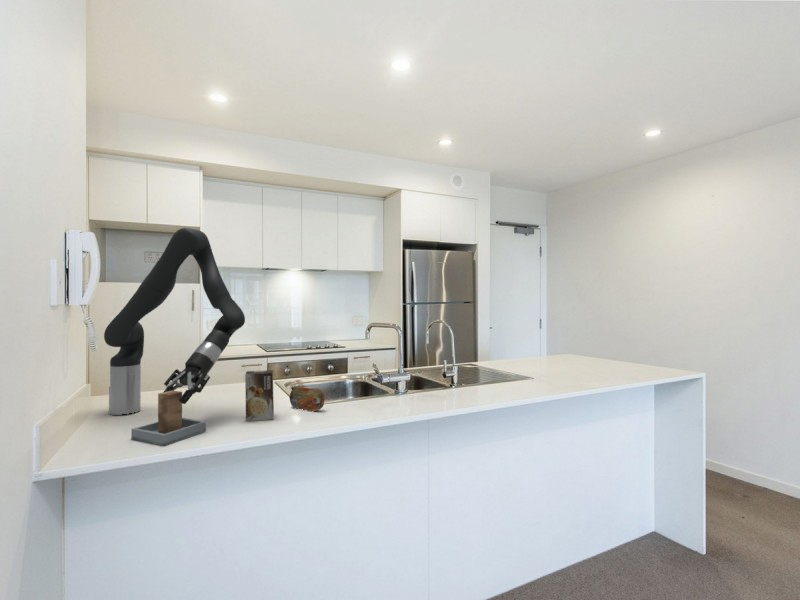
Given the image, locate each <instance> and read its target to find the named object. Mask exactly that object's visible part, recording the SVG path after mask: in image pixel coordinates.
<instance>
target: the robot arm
mask: <svg viewBox="0 0 800 600" xmlns="http://www.w3.org/2000/svg"><path fill="white" fill-rule="evenodd" d="M189 256H192V257H193V258H194V260H195V261H196V263H197V264H198V267H199V269H200V274H201V280H202V286H203V290H204V292H205V295H206V297H207V299H208V301H209V303H210V305H211V306H212V307H213V309H215V310H219V312H220V313H221V314H222V316H220V318H219V319H218V320H217V322H216V323H215V324H214V326H213V328H212V329H211V331H210V332H209V333H208V334H207V336H206V337H205V338H204V340H203V341H202V342H201V343H200V344H199V345H198V346H197V347H196V349H195V350H194V351H193V352H192V354H191V355H190V356H189V357H188V359H187V360H186V361H185V363H184V365H185V366H184V367H185V368H184V369H183V370H179V369H178V368H177V369H175V370H174V371H172V373H171V375H170V376H168V378H167V379H166V381H165V382H164V383H163V385H164V386H165V387H166V388H165V390H164V391H163V392H168V391H176V390H177V389H178V388H182V387H184V386H185V387H186V386H187V389H186V390H185V391H184V393H182V397H181V398H180V399H179V401H180V402H181V403H182V405H183V404H184V405H186V404H187V403H188V402H189V400H190V399H191V397H192V396H193V395H195V394H196V393H198V394H199V393H201V392H202V391H203V389H204V388H205V386H206V385H207V383H208V381H210V379H211V376H210V375H209V373H210V371H211V370H212V368H213V367H214V366H215V364H216V362H217V361H218V360H219V359H220V357H221V354H222V353H223V351H224V350H225V349H226V348H227V346H228V344H229V342H230V339H231V337H232V336H233V334H234V333H235V332H236V331H237V330H239V329H241V328H242V327H243V326H244V325H245V323H246V316H245V314H244V312H243V310H242V309H241V307H240V306H239V305H238V304H237V302H236V301H235V300H234V299H233V298H232V296H231V293H230V291H229V290H228V288H227V285H226V283H225V282H224V279H223V278H222V276H221V273H220V271H219V268H218V265H217V263H216V259H215V256H214V254H213V250H212V247H211V243H210V240H209V238H208V236H207V234H206V233H205V232H204V231H202V230H199V229H196V228H195V229H194V228H189V227H182V228H179V229H178V230H176V231H175V233H174V234H173V235H172V237H171V238H170V239H169V242H168V243H167V245H166V247H165V249H164V250H163V253H162V254H161V256H160V257H159V258H158V260H157V261H156V263H155V264H154V266H153V267H152V269H151V270H150V272H149V273H148V274H147V275H146V277H145V278H144V279H143V280H142V282H141V284H140V285H139V286H138V287H137V290H136V291H135V293H133V295H132V296H131V297H130V299H129V300H128V301H127V303H126V304H125V306H124V307H123V308H122V309H121V310H120V311H119V312H118V313H117V315H116V316H115V317H113V319H112V320H111V321H110V322H109V324H108V325H107V326H106V328H105V330H104V334H103V339H104V341H105V344H106V345H107V346H110V347H113V348H119V351H118V352H117V353H116V354H115V355H114V356H111V358H110V360H109V371H110V372H109V381H110V382H109V387H108V413H109V412H110V413H109V414H110V415H111V416H123V415H122V414H127V415H130V414H129V413H132V414H135V413H134V412H136V413H138V412H137V411H139V410H140V411H141V403H142V402H141V400H142V399H141V398H142V397H141V389H142V388H141V387H142V386H141V384H142V383H141V382H142V381H141V378H142V377H141V375H142V374H141V371H142V370H141V368H142V367H141V363H142V362H141V360H142V359H143V358H142V357H143V355H144V349H145V348H144V347H145V346H144V345H145V344H144V343H145V331H144V327H143V325H142V324H141V323H140V322H139V321H141V320H142V319H143V318H144V317H145V316H147V315H148V314H149V313H151V312H153V311H154V310H155V309H158V307H159V306H161V304H162V305H163V303H164V302H165V301H166V300H167V298H168V297H169V295H170V294H171V293H172V291H173V289H174V288H175V285H176V282H177V275H178V271H179V269H180V267H181V266H182V264H183V263H184V262H185V260H186V259H187V258H188V257H189ZM140 411H139V412H140Z"/></svg>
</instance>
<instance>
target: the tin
mask: <svg viewBox="0 0 800 600" xmlns="http://www.w3.org/2000/svg"><path fill="white" fill-rule="evenodd" d="M289 402H290V404H291V407H293V409H295V408H296V409H295V410H298V409H303V410H302V411H305V410H308V411H307V412H312V411H314V412H317V411H319V410H320V409H322V408H323V407H324V405H325V394H324V392H323V390H321V389H320V388H317V387H308V386H295V387H293V388H292V389H291V391H290V393H289Z"/></svg>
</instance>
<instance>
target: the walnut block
mask: <svg viewBox="0 0 800 600" xmlns="http://www.w3.org/2000/svg"><path fill="white" fill-rule="evenodd" d="M182 395H183V391H178V390H174V391H168V392H164V391H163V392H160V393H158V395H157V396H158V397H157V422H158V433H163V434H166V433H169V432H172V431H175V430H178V429H182V418H183V404H182V403H181V402H180V401H179V399H180V398H181V397H182Z"/></svg>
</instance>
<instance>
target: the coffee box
mask: <svg viewBox="0 0 800 600" xmlns="http://www.w3.org/2000/svg"><path fill="white" fill-rule="evenodd" d="M244 376H245V378H244V380H245V387H244V389H245V422H257V421H266V420H267V421H269V420H274V418H275V417H274V416H275V415H274V414H275V413H274V411H275V409H274V405H275V404H274V403H275V401H274V370H272V369H271V370H269V369H268V370H250V371H249V370H248V371H246V372H245V375H244Z"/></svg>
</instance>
